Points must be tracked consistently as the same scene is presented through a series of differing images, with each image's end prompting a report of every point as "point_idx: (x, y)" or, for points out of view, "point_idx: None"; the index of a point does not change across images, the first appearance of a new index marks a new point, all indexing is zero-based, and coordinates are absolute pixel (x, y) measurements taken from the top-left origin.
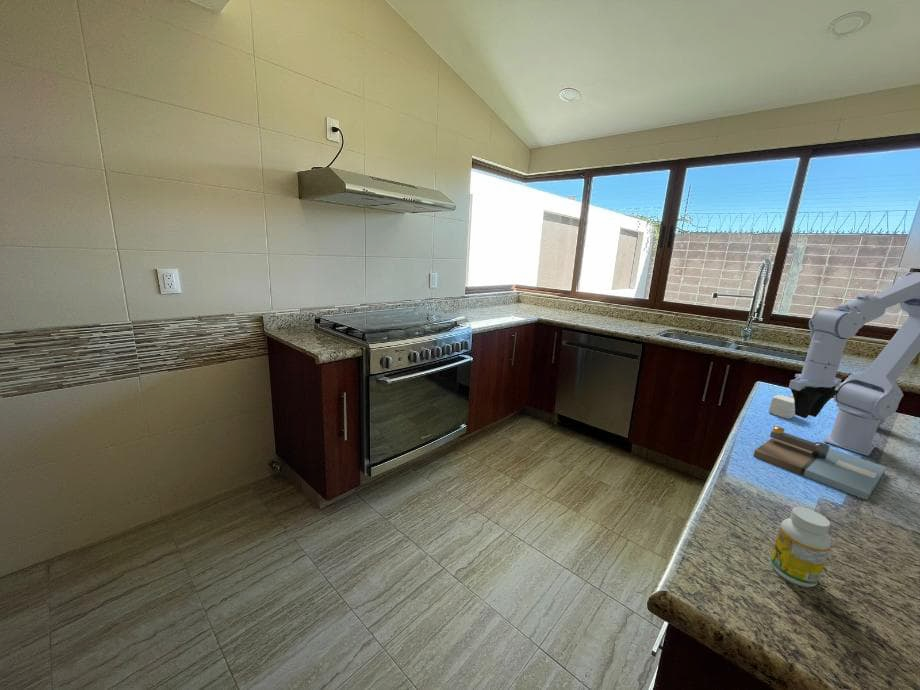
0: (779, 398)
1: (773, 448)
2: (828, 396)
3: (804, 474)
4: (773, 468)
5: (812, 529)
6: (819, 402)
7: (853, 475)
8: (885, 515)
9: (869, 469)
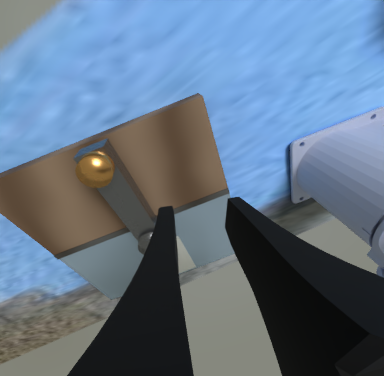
0: None
1: (54, 186)
2: (279, 365)
3: None
4: (7, 226)
5: None
6: (258, 290)
7: None
8: (104, 305)
9: (202, 255)
